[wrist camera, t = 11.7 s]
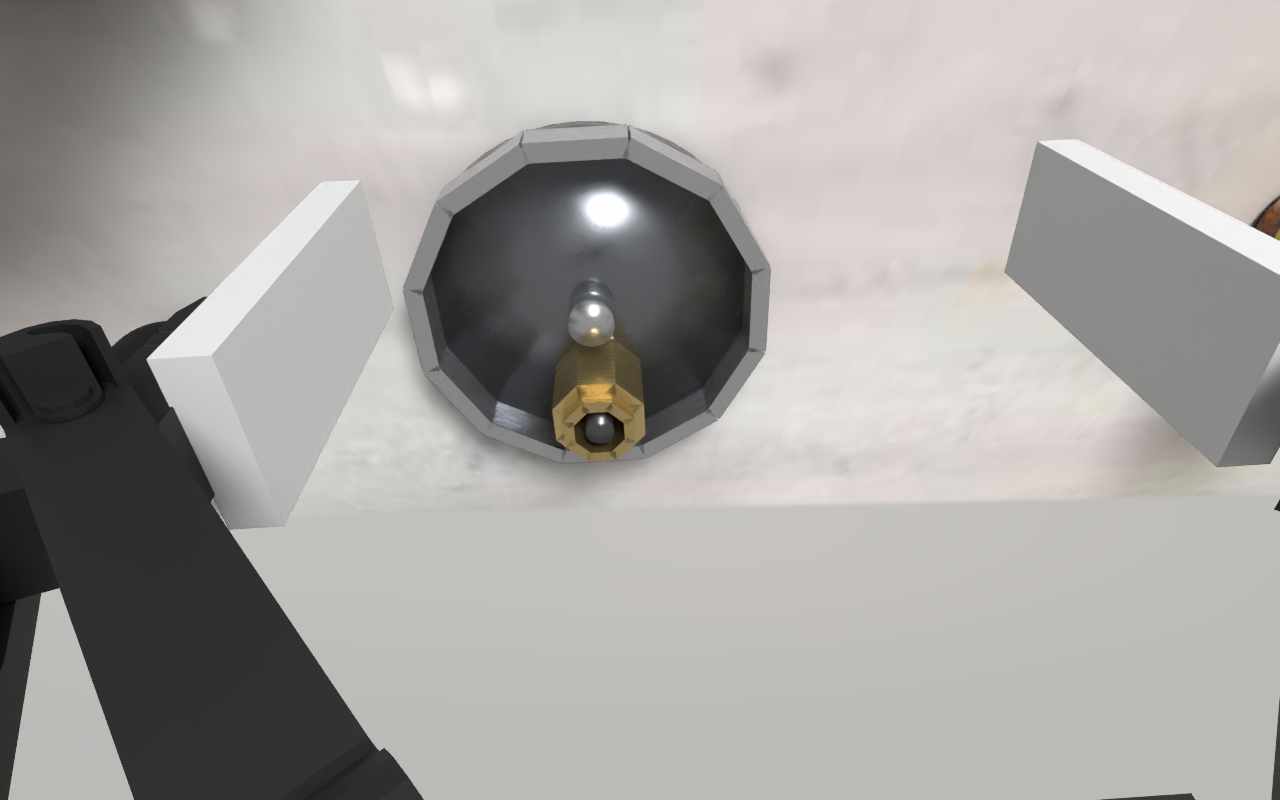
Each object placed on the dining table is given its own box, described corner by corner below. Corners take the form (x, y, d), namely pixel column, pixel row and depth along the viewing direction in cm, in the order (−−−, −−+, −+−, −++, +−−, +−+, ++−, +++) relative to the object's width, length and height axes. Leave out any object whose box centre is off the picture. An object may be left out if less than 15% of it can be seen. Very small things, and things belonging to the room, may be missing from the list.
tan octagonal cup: (562, 412, 48) (558, 471, 43) (553, 342, 45) (548, 397, 40) (642, 407, 48) (647, 465, 43) (638, 337, 45) (643, 391, 40)
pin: (583, 370, 48) (580, 437, 42) (593, 351, 47) (593, 416, 41) (605, 379, 48) (606, 447, 42) (616, 360, 48) (618, 426, 42)
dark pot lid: (379, 358, 47) (361, 395, 43) (496, 49, 37) (486, 65, 34) (658, 465, 53) (663, 505, 49) (822, 221, 43) (842, 250, 40)
